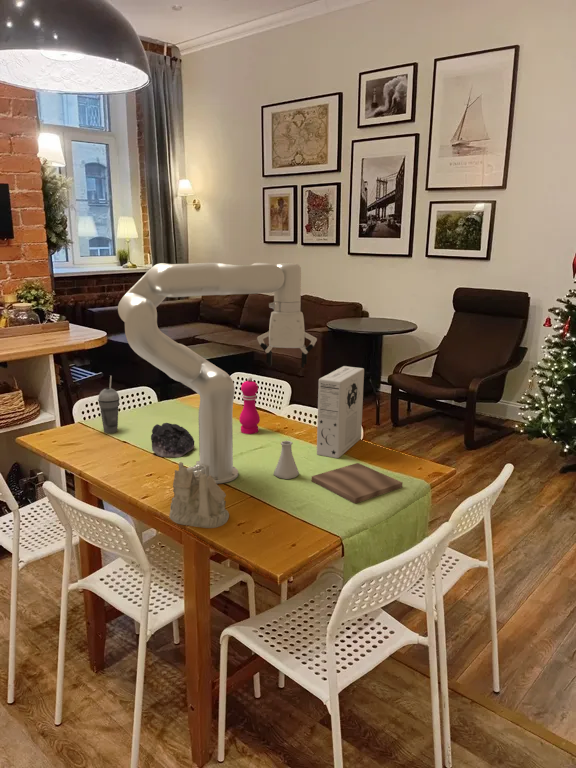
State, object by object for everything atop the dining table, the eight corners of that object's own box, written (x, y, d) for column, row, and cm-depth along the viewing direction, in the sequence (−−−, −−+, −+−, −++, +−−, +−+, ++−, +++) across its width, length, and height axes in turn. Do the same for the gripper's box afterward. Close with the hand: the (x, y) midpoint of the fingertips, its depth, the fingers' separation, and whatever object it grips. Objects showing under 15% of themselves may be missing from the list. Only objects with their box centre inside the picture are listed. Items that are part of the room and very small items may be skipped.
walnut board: (355, 503, 156) (355, 498, 156) (311, 481, 170) (311, 476, 170) (402, 487, 167) (402, 482, 166) (357, 467, 180) (357, 462, 180)
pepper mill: (259, 434, 208) (259, 379, 204) (238, 434, 209) (238, 378, 204) (260, 428, 216) (260, 374, 211) (240, 427, 216) (240, 374, 211)
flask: (288, 481, 169) (289, 448, 167) (268, 475, 174) (269, 443, 171) (303, 474, 175) (304, 441, 173) (283, 468, 179) (284, 436, 177)
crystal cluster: (202, 452, 193) (202, 422, 192) (170, 460, 183) (169, 428, 181) (175, 446, 201) (175, 417, 200) (142, 453, 191) (142, 423, 190)
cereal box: (340, 435, 209) (343, 365, 203) (361, 438, 206) (364, 368, 200) (316, 454, 190) (318, 378, 184) (338, 458, 187) (341, 381, 181)
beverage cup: (102, 428, 213) (98, 373, 208) (123, 427, 214) (120, 373, 209) (98, 434, 206) (94, 378, 201) (119, 434, 207) (116, 378, 202)
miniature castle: (215, 531, 140) (214, 470, 138) (156, 521, 146) (154, 462, 144) (245, 508, 154) (244, 452, 152) (190, 499, 160) (189, 445, 158)
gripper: (255, 308, 167) (255, 368, 171) (317, 309, 166) (315, 369, 170) (258, 305, 174) (258, 362, 179) (318, 306, 173) (316, 364, 177)
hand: (286, 366), depth 174 cm, fingers open, 9 cm apart
